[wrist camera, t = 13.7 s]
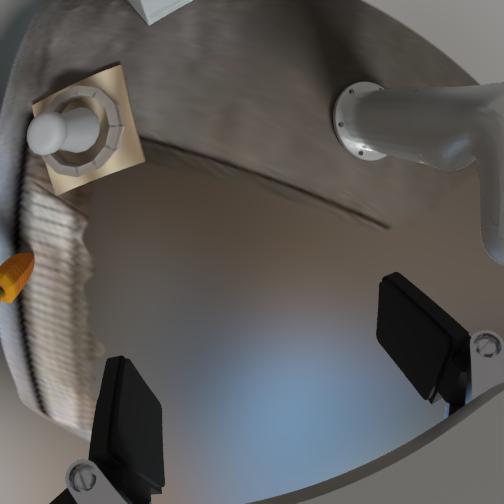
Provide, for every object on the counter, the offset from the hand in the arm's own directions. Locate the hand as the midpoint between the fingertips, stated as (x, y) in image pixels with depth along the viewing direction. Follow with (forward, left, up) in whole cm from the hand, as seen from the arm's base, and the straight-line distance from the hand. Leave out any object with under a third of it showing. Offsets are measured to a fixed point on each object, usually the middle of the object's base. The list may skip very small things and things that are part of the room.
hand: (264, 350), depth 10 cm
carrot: (+30, +2, -32) cm, 44 cm away
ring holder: (+14, -12, -32) cm, 37 cm away
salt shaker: (+14, -12, -32) cm, 36 cm away
